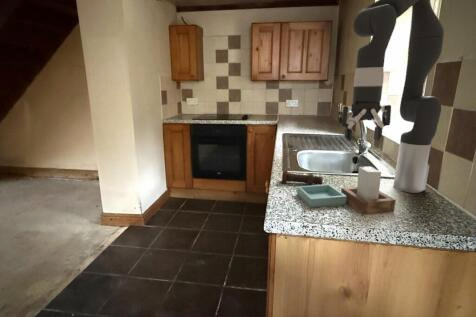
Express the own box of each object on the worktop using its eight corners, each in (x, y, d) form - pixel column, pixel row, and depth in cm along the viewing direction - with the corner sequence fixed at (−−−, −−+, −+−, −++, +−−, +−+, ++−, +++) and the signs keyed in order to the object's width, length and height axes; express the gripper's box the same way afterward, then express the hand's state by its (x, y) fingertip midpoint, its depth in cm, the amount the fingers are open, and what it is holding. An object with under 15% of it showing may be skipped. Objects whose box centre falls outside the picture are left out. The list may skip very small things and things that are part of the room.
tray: (328, 192, 99) (329, 184, 98) (345, 204, 89) (346, 196, 88) (296, 194, 97) (297, 186, 96) (310, 208, 87) (311, 199, 86)
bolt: (321, 191, 105) (281, 186, 109) (321, 181, 109) (283, 176, 112) (323, 181, 101) (281, 176, 105) (323, 170, 105) (283, 166, 108)
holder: (368, 196, 95) (370, 185, 94) (393, 212, 84) (395, 199, 83) (340, 199, 93) (341, 187, 92) (362, 215, 82) (363, 202, 81)
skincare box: (377, 209, 86) (383, 172, 82) (363, 209, 85) (368, 172, 82) (367, 201, 92) (372, 166, 88) (354, 201, 91) (358, 166, 88)
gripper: (385, 83, 83) (379, 137, 88) (338, 85, 83) (334, 138, 87) (400, 84, 76) (392, 142, 80) (348, 85, 76) (343, 143, 80)
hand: (362, 140), depth 84 cm, fingers open, 8 cm apart
